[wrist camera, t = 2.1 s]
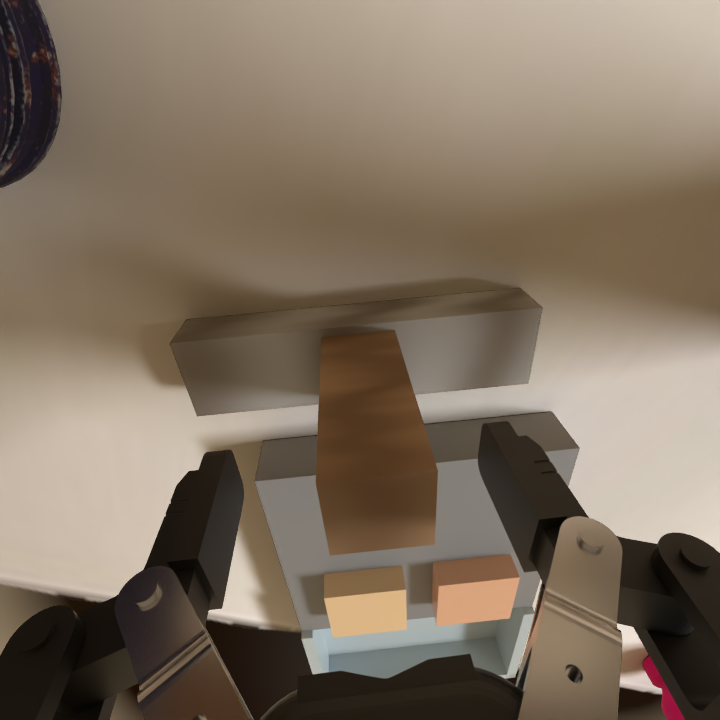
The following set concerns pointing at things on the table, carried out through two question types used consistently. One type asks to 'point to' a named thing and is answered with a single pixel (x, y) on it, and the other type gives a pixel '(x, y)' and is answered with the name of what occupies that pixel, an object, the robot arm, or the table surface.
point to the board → (452, 542)
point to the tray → (422, 646)
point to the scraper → (363, 392)
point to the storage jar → (26, 89)
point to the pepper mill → (668, 702)
